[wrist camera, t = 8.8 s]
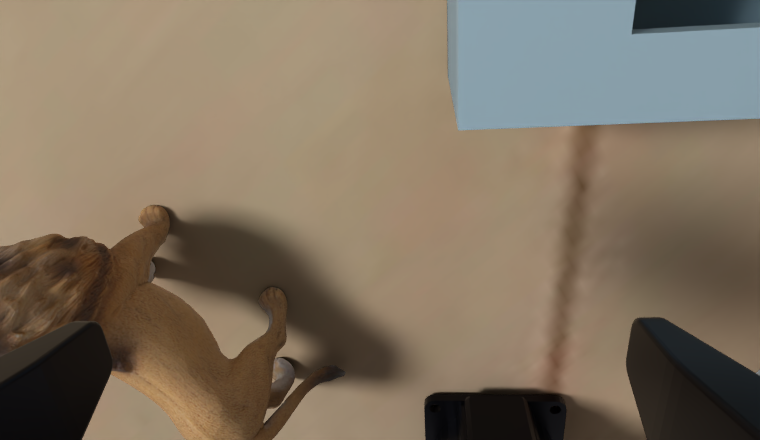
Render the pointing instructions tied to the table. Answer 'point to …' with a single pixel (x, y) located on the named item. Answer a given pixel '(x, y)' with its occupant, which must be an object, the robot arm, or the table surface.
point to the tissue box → (602, 61)
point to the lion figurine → (152, 331)
